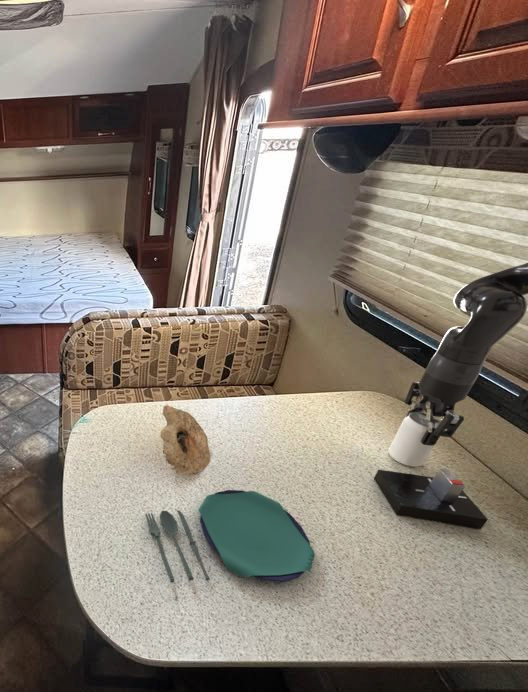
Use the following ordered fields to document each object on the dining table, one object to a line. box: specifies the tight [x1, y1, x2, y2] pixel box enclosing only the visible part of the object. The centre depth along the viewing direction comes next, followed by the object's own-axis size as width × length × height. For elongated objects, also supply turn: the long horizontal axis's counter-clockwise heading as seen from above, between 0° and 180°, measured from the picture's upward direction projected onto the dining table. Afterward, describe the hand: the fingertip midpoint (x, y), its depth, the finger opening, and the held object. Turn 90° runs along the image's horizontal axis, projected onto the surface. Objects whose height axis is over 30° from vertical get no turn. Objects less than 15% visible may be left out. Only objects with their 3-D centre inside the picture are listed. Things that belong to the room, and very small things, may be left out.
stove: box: [373, 468, 489, 530], centre depth 79 cm, size 14×10×3 cm
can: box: [388, 412, 439, 468], centre depth 88 cm, size 6×6×12 cm
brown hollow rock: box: [160, 404, 211, 475], centre depth 96 cm, size 18×14×8 cm
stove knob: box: [429, 468, 466, 503], centre depth 77 cm, size 4×2×5 cm, turn 164°
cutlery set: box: [145, 489, 316, 583], centre depth 74 cm, size 20×30×2 cm, turn 93°
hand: (417, 433), depth 87 cm, fingers closed on can, 6 cm apart
